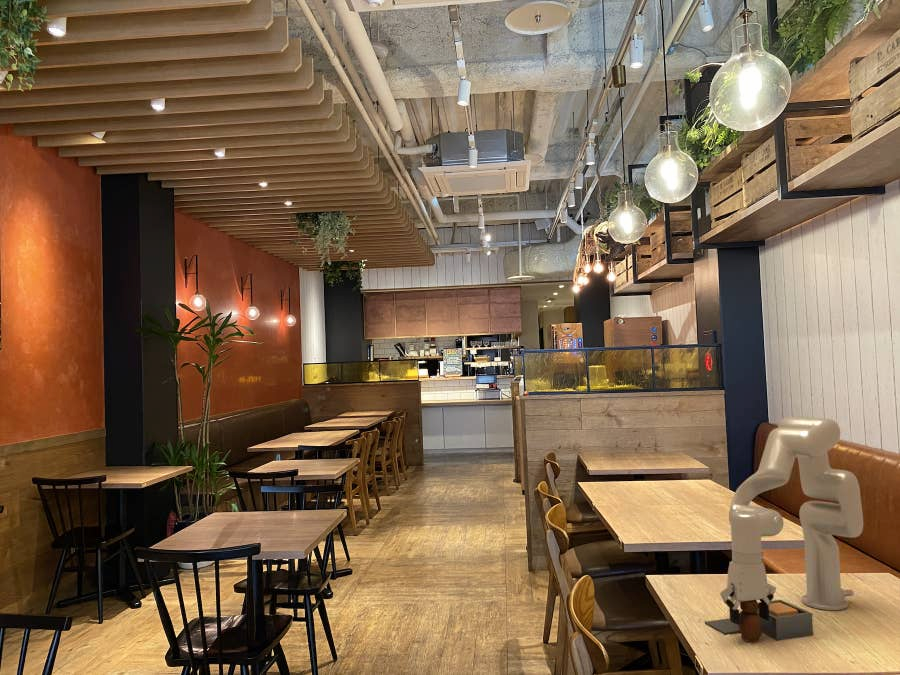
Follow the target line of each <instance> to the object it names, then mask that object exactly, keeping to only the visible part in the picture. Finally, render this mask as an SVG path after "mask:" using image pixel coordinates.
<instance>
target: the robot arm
mask: <svg viewBox="0 0 900 675" xmlns="http://www.w3.org/2000/svg"><path fill="white" fill-rule="evenodd" d="M778 421H779V422H778V423H777V427H776V428H773V429H772V430H771V431H770V433H769V434H768V436H767V439H766V442H765V447H764V449H763V453H762V456H761V460H760V463H759V466H758V470H757V471H756V472H755V473H753V474H752V475H751V476H749V477H748V478H746V480H744V481H743V482H742V483H741V484H740V485H739V486H738V487H737V489H736V491H735V492H734V495H733V497H732V501H731V503H730V507H729V511H728V522H729V524H730V532H731V533H730V534H731V535H730V536H731V561H729V564H728V565H729V566H728V570H727V582H726V584H727V585H726V586H727V587H726V588H725V589H723V590H722V591H721V592H720V593H719V594H720V598H721V599H722V600H723V602H724V604H725V605H726V606H727V607H728V609H729V618H730V621H731V622H733V623H735V624H737V625H739V624H740V615H739V613H740V609H738V607H740V603H741V602H744V601H751V600H757V601H758V603H759V616H760V617H761V618H763V619H765V620H769V605H770V604H771V601H773V599H774V598H775V597H774V596H775V593H776V592H777V587H776V586H773V585H772V584H770V583H768V578H767V576H768V575H767V572H766V567H765V564H764V563H765V562H763V558H762V557H764V556H765V552H764V551H763V550H762V538H763V537H764V538H766V537H769V538H770V537H775V536H777V535H778V534H780V533H781V532H782V530H783V528H784V518H783V516H782V515H781V514H780V513H779V512H778V511H777V510H775V509H772V508H766V507H759V506H754V505H750V504H751V502H752V500H754V498H756V497H758V495H759V494H762V493H763V492H766V491H770V490H773V489H776V488H779V487H783V486H784V485H787V484H788V482H789V481H790V479H791V475H792V472H793V468H794V463H795V461H796V458H797V462H798V471H799V477H800V478H799V480H800V485H801V489H802V492H803V494H804V495H805V496H807V497H809V498H813V499H820V501H819V500H809V501H808V500H807V501H805V502H804V503H802V505H801V506H800V509H799V520H800V525H801V529H802V534H803V540H804V541H803V542H804V544H803V545H804V560H805V562H804V564H805V579H806V580H805V581H806V582H805V583H806V594H804V595H802V596H801V602H802V603H803V604H804V605H806V606H808V607H811V608H814V609H818V610H824V611H841V610H845V608H846V609H847V608H848V606H849V605H848V602H847V600H846V599H845V598H846V597H852V596H854V594H855V592H854V591H853V589H851V588H849V589H843V588H842V583H841V580H842V579H841V565H840V548H839V545H838V542H837V541H836V539H835V537H834V536H839V537H845V538H857V537H859V536H861V534H862V533H863V529H864V515H863V508H862V507H863V506H862V498H861V497H862V496H861V488H860V484H859V481H858V479H857V476H855V474H854V473H853V472H851V471H848V470H846V469H845V470H844V469H835V468H832V467H831V466H830V461H829V455H828V451H830V450H832V449H833V448H834V447H835V446H836V445H837V444H838V442H839V441H840V438H841V429H840V428H841V427H840V426H839V423H837V422H836V421H835V420H834V419H831V418H822V417H803V416H800V417H799V416H789V417H784V418H782V419H780V420H778ZM821 500H827V501H821ZM828 501H835V502H838V503H834V502H828ZM833 535H834V536H833Z"/></svg>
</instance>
